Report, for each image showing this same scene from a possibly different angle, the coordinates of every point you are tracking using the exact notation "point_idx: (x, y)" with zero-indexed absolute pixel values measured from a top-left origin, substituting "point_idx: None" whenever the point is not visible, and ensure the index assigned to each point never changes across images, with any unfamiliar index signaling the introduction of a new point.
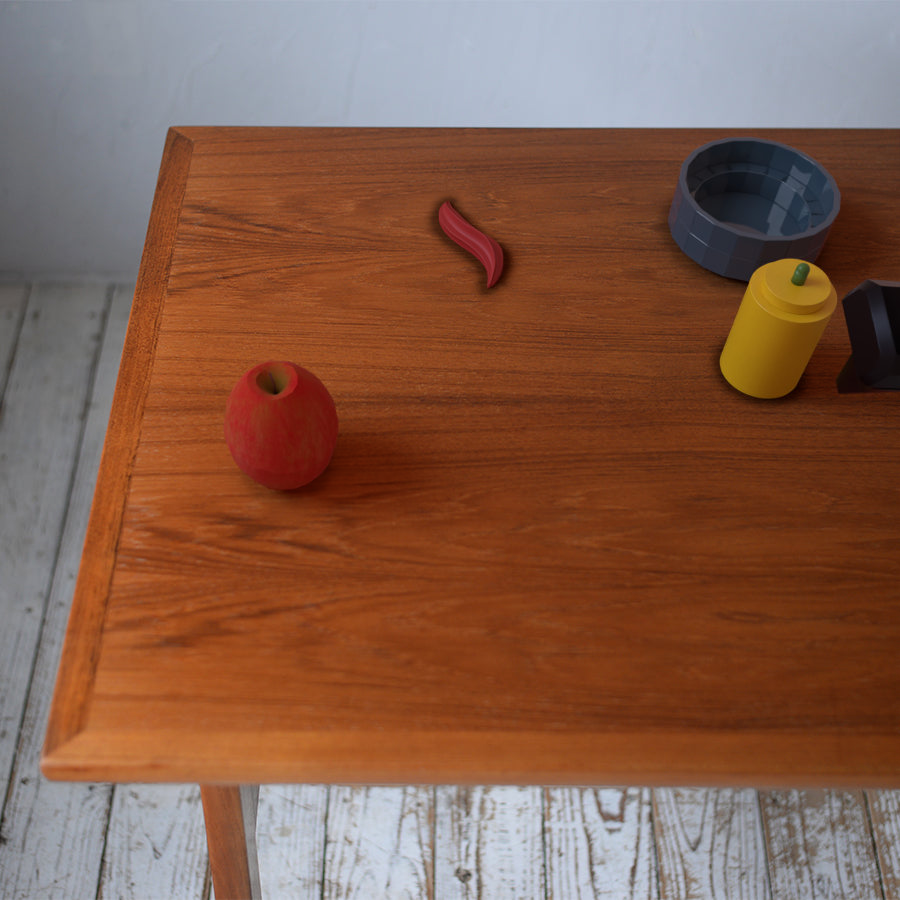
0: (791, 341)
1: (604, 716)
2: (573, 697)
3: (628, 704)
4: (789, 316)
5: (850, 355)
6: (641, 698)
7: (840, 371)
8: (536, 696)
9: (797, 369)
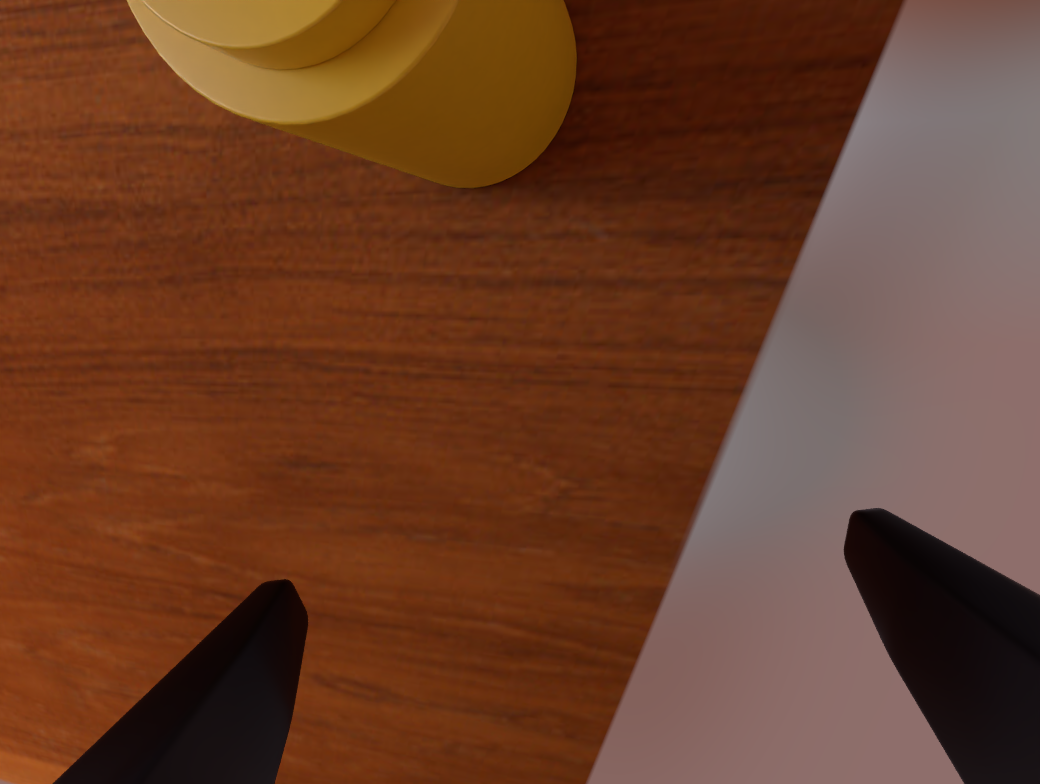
0: (352, 147)
1: None
2: None
3: None
4: (244, 89)
5: (84, 754)
6: None
7: (214, 630)
8: (92, 737)
9: (486, 156)
